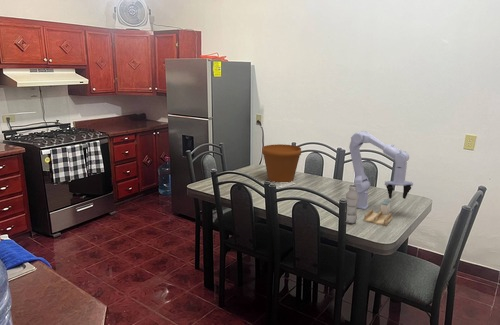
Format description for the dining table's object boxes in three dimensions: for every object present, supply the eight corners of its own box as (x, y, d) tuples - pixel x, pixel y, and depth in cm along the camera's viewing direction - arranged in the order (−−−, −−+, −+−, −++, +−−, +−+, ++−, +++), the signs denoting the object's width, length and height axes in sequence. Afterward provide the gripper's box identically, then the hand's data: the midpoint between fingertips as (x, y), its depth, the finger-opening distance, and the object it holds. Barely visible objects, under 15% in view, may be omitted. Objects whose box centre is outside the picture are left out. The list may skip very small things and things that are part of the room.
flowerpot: (292, 187, 249) (293, 153, 243) (255, 181, 260) (256, 149, 255) (304, 177, 273) (306, 146, 267) (270, 172, 285) (271, 143, 279)
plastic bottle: (354, 219, 193) (357, 184, 189) (358, 224, 187) (361, 188, 182) (342, 219, 193) (344, 184, 188) (346, 225, 186) (348, 188, 182)
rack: (362, 221, 192) (363, 215, 191) (370, 213, 202) (370, 208, 201) (386, 226, 185) (386, 220, 184) (392, 218, 196) (392, 213, 195)
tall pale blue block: (380, 215, 200) (381, 203, 198) (383, 211, 206) (384, 199, 204) (386, 216, 198) (387, 204, 197) (389, 212, 204) (390, 200, 202)
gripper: (388, 176, 191) (386, 200, 194) (416, 176, 191) (413, 200, 194) (384, 172, 198) (381, 195, 201) (411, 172, 198) (408, 196, 201)
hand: (397, 198), depth 198 cm, fingers open, 7 cm apart
